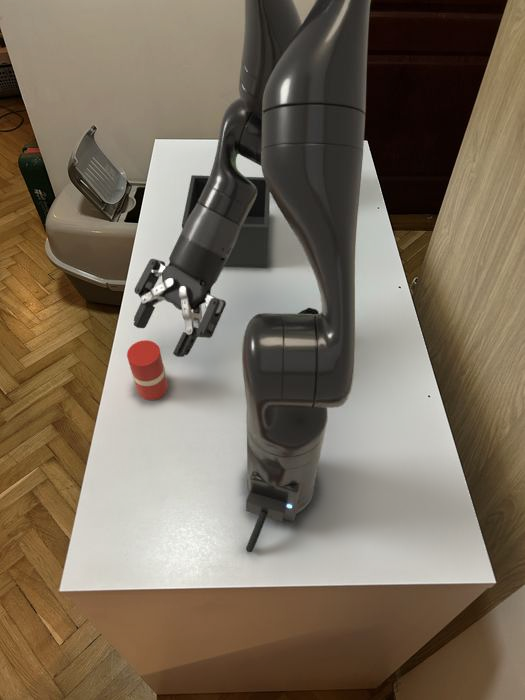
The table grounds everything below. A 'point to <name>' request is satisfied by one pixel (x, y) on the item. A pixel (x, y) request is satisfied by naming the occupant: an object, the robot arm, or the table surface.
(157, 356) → the red cylinder
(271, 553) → the table surface
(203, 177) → the bin
